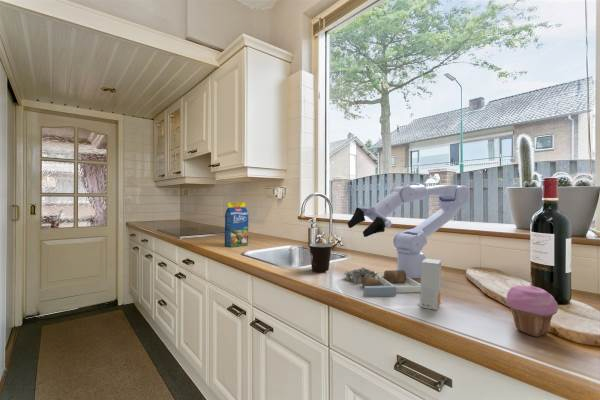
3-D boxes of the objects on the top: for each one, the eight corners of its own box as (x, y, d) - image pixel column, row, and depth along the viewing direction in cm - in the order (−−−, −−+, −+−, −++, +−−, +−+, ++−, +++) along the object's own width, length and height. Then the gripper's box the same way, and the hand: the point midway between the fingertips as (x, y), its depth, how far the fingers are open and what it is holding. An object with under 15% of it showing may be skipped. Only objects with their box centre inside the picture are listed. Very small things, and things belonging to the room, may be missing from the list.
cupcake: (542, 345, 59) (543, 294, 59) (497, 327, 67) (497, 282, 67) (565, 336, 63) (566, 289, 63) (520, 321, 71) (521, 278, 71)
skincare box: (437, 310, 77) (438, 263, 77) (419, 307, 79) (420, 261, 79) (440, 303, 82) (441, 259, 82) (424, 300, 84) (424, 258, 84)
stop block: (393, 295, 88) (393, 285, 88) (396, 297, 86) (396, 287, 86) (363, 296, 87) (364, 286, 87) (365, 298, 85) (365, 287, 85)
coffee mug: (330, 274, 112) (330, 247, 112) (307, 272, 114) (307, 246, 113) (333, 267, 123) (333, 242, 123) (312, 266, 125) (312, 242, 125)
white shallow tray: (404, 281, 103) (404, 275, 103) (425, 293, 90) (425, 286, 90) (377, 282, 102) (377, 275, 102) (394, 294, 89) (394, 287, 89)
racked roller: (400, 281, 102) (400, 269, 102) (406, 283, 98) (406, 271, 98) (383, 281, 101) (383, 269, 102) (388, 284, 97) (388, 271, 98)
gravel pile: (357, 286, 98) (357, 274, 98) (341, 281, 104) (341, 269, 104) (379, 281, 104) (379, 269, 104) (363, 276, 110) (363, 265, 110)
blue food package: (224, 246, 172) (224, 202, 172) (241, 244, 181) (242, 202, 181) (230, 247, 168) (231, 202, 168) (248, 245, 177) (248, 202, 176)
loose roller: (362, 289, 96) (360, 276, 96) (374, 286, 96) (372, 274, 96) (369, 295, 90) (367, 282, 90) (382, 292, 90) (379, 279, 90)
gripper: (367, 193, 109) (339, 213, 105) (398, 206, 98) (368, 229, 94) (371, 208, 113) (344, 228, 109) (401, 222, 102) (373, 245, 97)
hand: (356, 230), depth 102 cm, fingers open, 7 cm apart
